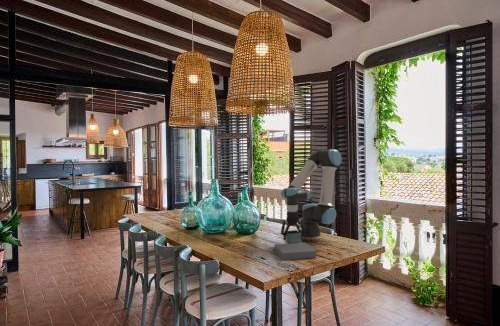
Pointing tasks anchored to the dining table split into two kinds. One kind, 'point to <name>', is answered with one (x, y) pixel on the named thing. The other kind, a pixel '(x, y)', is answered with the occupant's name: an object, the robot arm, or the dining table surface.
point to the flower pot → (293, 236)
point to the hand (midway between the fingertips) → (292, 244)
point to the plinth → (295, 251)
